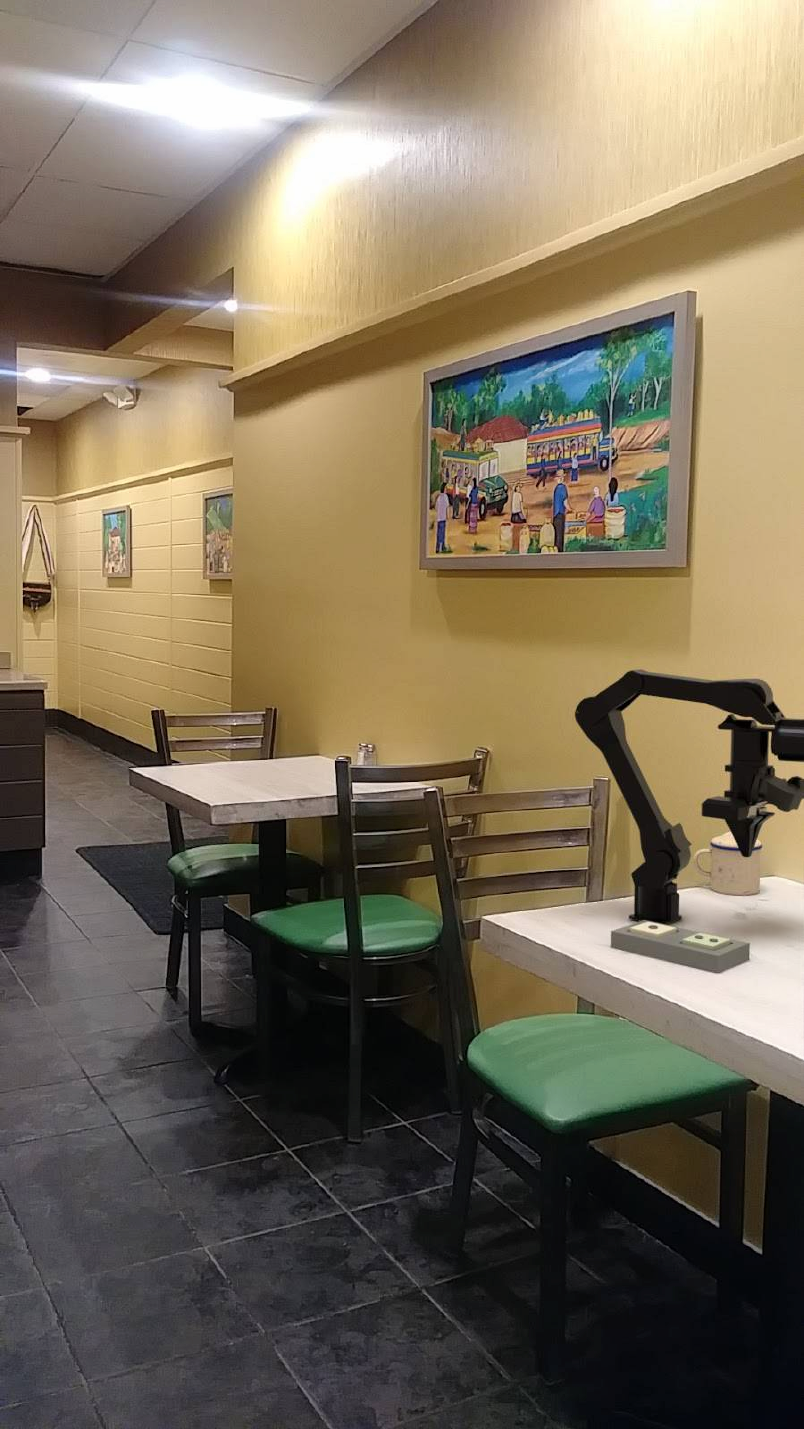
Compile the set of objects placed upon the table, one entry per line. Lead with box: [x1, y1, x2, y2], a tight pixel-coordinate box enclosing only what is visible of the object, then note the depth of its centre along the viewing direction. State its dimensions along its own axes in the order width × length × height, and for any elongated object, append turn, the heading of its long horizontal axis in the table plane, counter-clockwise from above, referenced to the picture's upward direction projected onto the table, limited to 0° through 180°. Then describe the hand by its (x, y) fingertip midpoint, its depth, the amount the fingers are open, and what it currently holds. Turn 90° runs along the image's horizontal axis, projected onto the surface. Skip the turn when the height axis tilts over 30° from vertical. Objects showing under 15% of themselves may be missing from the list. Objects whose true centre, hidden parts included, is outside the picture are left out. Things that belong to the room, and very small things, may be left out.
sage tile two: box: [682, 932, 732, 951], centre depth 169 cm, size 5×5×2 cm
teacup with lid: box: [693, 831, 763, 896], centre depth 212 cm, size 12×9×12 cm
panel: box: [610, 920, 751, 974], centre depth 172 cm, size 18×9×2 cm, turn 45°
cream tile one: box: [630, 922, 676, 939], centre depth 176 cm, size 5×5×2 cm
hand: (746, 856), depth 184 cm, fingers closed
